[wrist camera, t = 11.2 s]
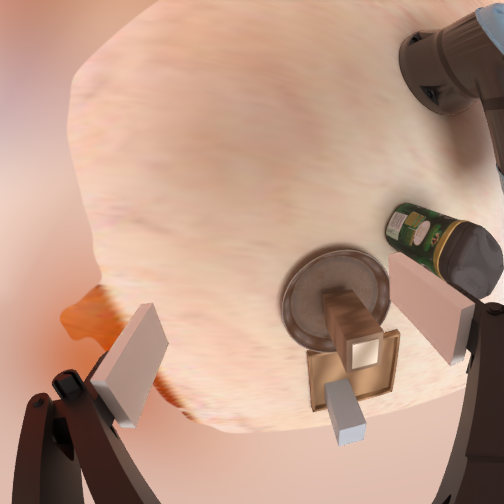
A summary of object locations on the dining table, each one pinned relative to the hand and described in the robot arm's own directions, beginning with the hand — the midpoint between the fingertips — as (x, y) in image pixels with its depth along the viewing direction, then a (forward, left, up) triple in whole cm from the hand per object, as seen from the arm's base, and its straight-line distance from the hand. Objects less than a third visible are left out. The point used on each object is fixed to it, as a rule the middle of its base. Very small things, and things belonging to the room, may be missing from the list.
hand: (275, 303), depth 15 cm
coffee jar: (-23, +6, -27) cm, 36 cm away
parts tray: (-13, +31, -26) cm, 43 cm away
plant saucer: (-10, +15, -27) cm, 32 cm away
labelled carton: (-10, +15, -24) cm, 29 cm away
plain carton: (-9, +35, -26) cm, 44 cm away
